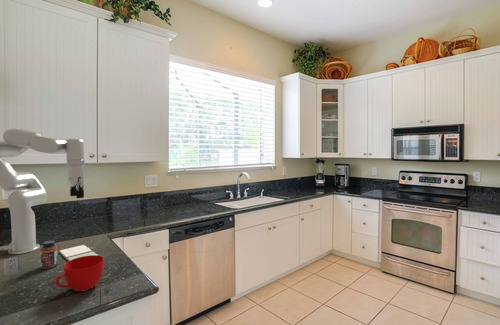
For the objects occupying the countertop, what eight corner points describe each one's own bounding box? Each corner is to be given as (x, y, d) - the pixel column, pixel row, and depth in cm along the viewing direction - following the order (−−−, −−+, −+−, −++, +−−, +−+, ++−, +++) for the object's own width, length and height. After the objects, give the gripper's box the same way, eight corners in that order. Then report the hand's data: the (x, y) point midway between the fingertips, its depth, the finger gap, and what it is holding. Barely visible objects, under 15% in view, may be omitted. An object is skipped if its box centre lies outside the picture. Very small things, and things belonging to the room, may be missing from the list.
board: (75, 268, 117) (75, 265, 117) (59, 252, 135) (59, 249, 135) (102, 260, 126) (102, 257, 125) (84, 246, 144) (84, 244, 143)
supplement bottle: (38, 270, 115) (38, 245, 114) (43, 265, 120) (42, 240, 120) (55, 268, 117) (54, 243, 117) (59, 263, 123) (58, 239, 122)
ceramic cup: (44, 298, 93) (43, 270, 93) (88, 277, 109) (88, 253, 109) (69, 306, 89) (68, 277, 88) (112, 282, 105) (111, 257, 104)
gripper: (62, 163, 137) (63, 196, 137) (72, 164, 125) (73, 200, 126) (78, 162, 142) (79, 194, 143) (90, 163, 131) (91, 197, 132)
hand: (77, 196), depth 135 cm, fingers open, 9 cm apart
